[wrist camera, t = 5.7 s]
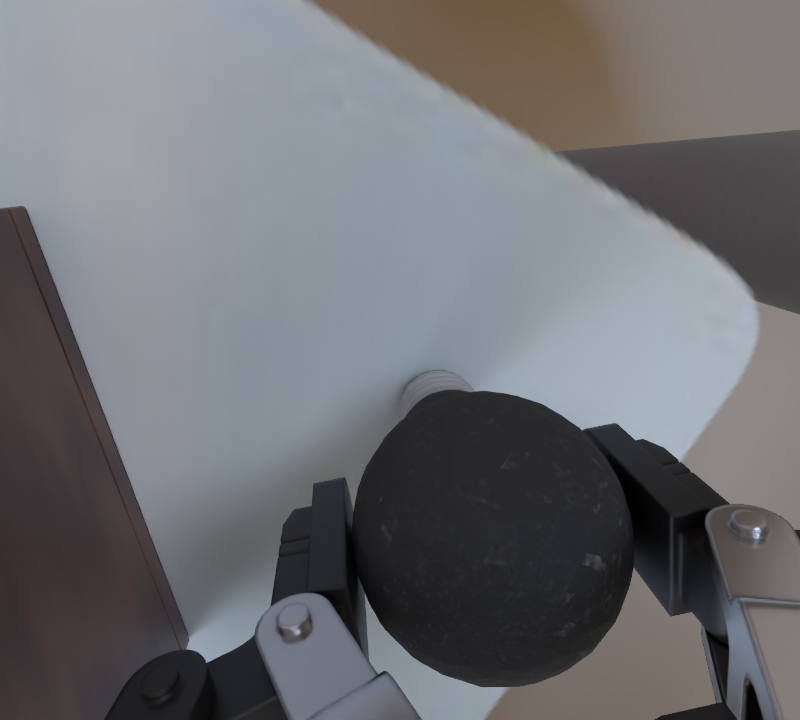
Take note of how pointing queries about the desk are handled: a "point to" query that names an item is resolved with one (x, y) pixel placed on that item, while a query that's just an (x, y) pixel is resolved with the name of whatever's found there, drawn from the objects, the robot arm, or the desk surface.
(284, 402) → the desk surface
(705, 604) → the robot arm
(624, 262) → the desk surface
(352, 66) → the desk surface
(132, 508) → the chest
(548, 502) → the light bulb
